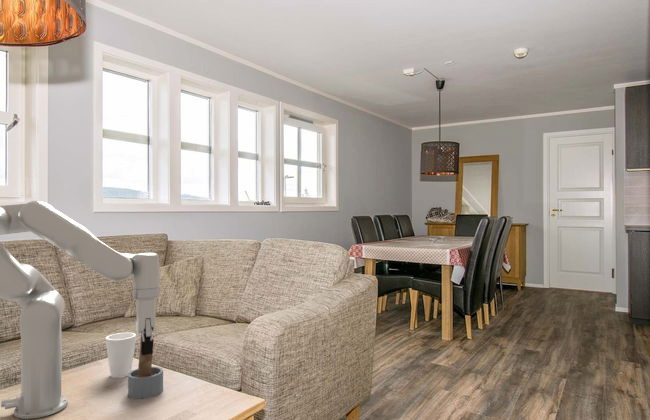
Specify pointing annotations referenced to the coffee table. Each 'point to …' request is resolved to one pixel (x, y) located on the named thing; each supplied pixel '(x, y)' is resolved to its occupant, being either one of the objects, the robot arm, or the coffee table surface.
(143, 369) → the brown wooden bar
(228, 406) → the coffee table surface
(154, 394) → the faceted hollow tube
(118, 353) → the foam cup
